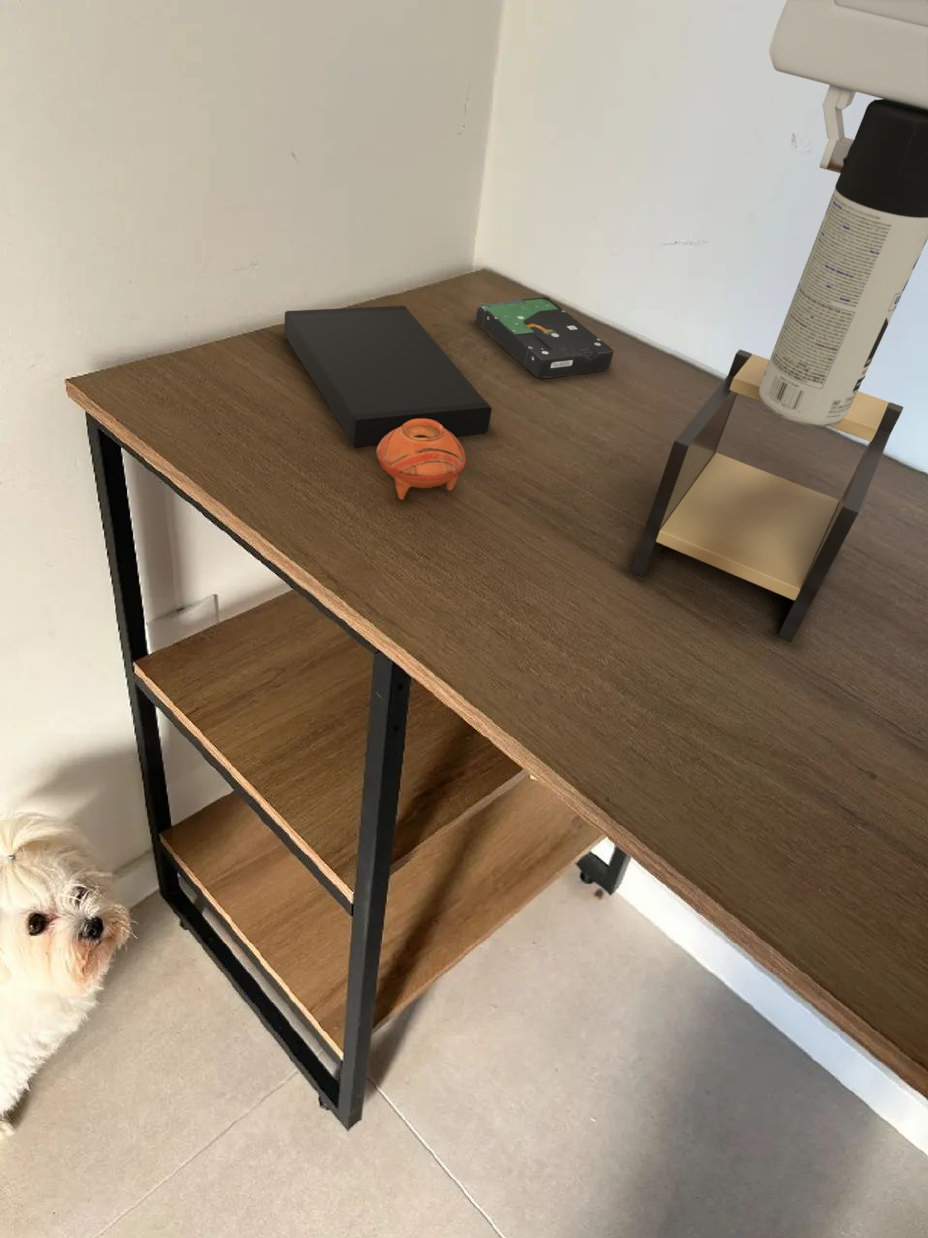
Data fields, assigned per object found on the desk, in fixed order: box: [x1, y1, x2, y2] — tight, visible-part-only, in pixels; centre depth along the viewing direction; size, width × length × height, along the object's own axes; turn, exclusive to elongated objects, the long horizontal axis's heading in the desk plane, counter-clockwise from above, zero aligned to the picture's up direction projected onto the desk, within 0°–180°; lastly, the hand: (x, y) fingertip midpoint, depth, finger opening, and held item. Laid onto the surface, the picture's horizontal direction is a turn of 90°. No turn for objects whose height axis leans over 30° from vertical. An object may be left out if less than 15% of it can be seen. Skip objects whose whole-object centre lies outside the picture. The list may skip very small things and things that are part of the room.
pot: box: [375, 418, 467, 501], centre depth 83 cm, size 8×8×7 cm
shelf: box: [630, 349, 904, 643], centre depth 79 cm, size 14×16×15 cm
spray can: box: [759, 98, 928, 428], centre depth 63 cm, size 7×7×20 cm
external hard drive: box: [283, 305, 492, 448], centre depth 97 cm, size 14×23×3 cm, turn 25°
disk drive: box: [475, 296, 615, 379], centre depth 110 cm, size 10×3×15 cm
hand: (892, 186), depth 59 cm, fingers closed on spray can, 6 cm apart
